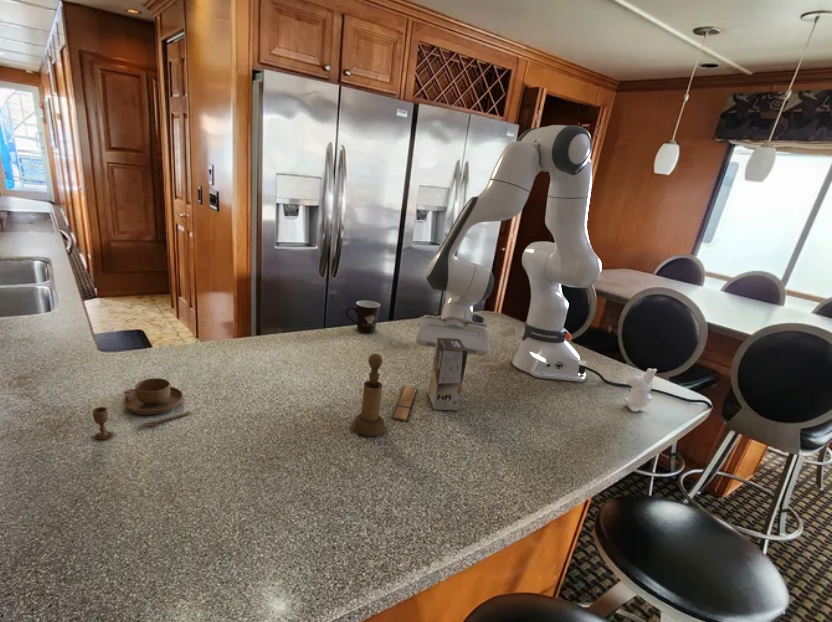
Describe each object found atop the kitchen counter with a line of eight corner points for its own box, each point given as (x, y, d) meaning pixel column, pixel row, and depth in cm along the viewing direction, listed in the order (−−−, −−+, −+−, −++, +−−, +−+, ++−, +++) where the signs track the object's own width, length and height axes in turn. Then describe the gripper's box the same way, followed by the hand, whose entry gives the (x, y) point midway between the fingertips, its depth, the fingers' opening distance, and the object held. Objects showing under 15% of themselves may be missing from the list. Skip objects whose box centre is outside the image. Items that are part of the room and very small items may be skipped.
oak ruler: (416, 389, 124) (416, 387, 123) (405, 421, 107) (406, 419, 107) (405, 387, 124) (405, 385, 124) (393, 418, 108) (393, 416, 107)
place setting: (199, 412, 102) (197, 388, 100) (99, 443, 88) (95, 416, 86) (164, 383, 112) (163, 361, 110) (70, 407, 98) (66, 382, 96)
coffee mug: (378, 328, 169) (381, 302, 165) (376, 335, 161) (379, 308, 157) (347, 324, 169) (349, 298, 166) (343, 331, 161) (345, 304, 158)
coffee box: (458, 411, 114) (469, 351, 109) (433, 409, 114) (443, 350, 108) (450, 394, 123) (460, 338, 117) (427, 393, 122) (435, 336, 116)
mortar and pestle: (387, 425, 104) (395, 353, 98) (377, 439, 99) (386, 363, 92) (360, 418, 106) (366, 346, 100) (349, 431, 100) (355, 356, 94)
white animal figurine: (634, 401, 130) (647, 363, 126) (656, 413, 125) (670, 373, 120) (614, 405, 127) (626, 365, 123) (635, 416, 121) (649, 376, 117)
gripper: (420, 308, 130) (411, 351, 124) (493, 320, 127) (486, 365, 121) (420, 319, 136) (411, 361, 130) (489, 330, 132) (483, 374, 127)
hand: (448, 363), depth 126 cm, fingers closed
